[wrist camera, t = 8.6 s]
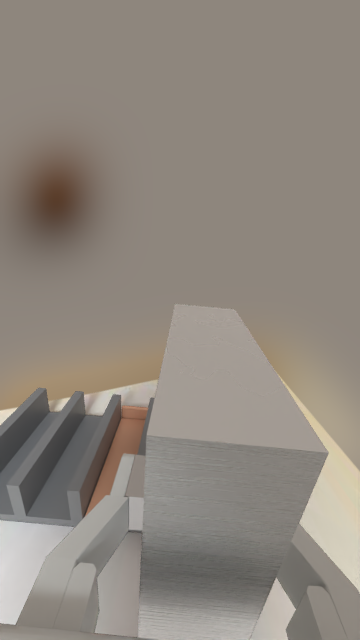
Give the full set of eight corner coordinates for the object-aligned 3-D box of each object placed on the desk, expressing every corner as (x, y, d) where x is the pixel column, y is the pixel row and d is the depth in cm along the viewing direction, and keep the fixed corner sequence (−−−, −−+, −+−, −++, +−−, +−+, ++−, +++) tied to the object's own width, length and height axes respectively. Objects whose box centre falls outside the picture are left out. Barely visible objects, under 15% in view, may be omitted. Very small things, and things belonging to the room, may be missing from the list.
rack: (-40, 516, 23) (-55, 479, 21) (45, 413, 37) (40, 385, 35) (251, 542, 23) (261, 507, 21) (227, 429, 37) (232, 402, 35)
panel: (134, 716, 8) (146, 435, 4) (160, 491, 16) (175, 303, 11) (213, 724, 8) (328, 452, 4) (201, 495, 16) (234, 309, 11)
